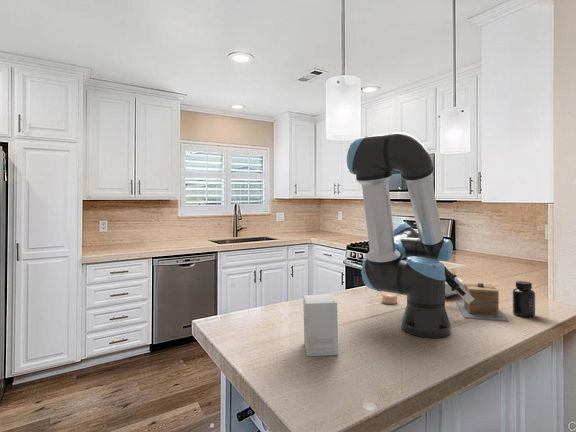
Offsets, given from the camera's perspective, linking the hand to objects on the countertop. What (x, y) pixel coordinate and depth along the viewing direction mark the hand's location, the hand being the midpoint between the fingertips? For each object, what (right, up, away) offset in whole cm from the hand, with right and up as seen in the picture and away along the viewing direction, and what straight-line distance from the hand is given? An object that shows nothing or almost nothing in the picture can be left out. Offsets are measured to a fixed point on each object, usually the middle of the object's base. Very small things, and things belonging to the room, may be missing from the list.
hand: (468, 296), depth 128 cm
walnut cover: (+4, -5, 0) cm, 7 cm away
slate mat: (+4, -6, 0) cm, 7 cm away
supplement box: (-59, -8, -30) cm, 66 cm away
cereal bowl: (+1, -5, +24) cm, 25 cm away
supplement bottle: (+18, -6, -4) cm, 19 cm away
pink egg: (-26, -6, +14) cm, 30 cm away
